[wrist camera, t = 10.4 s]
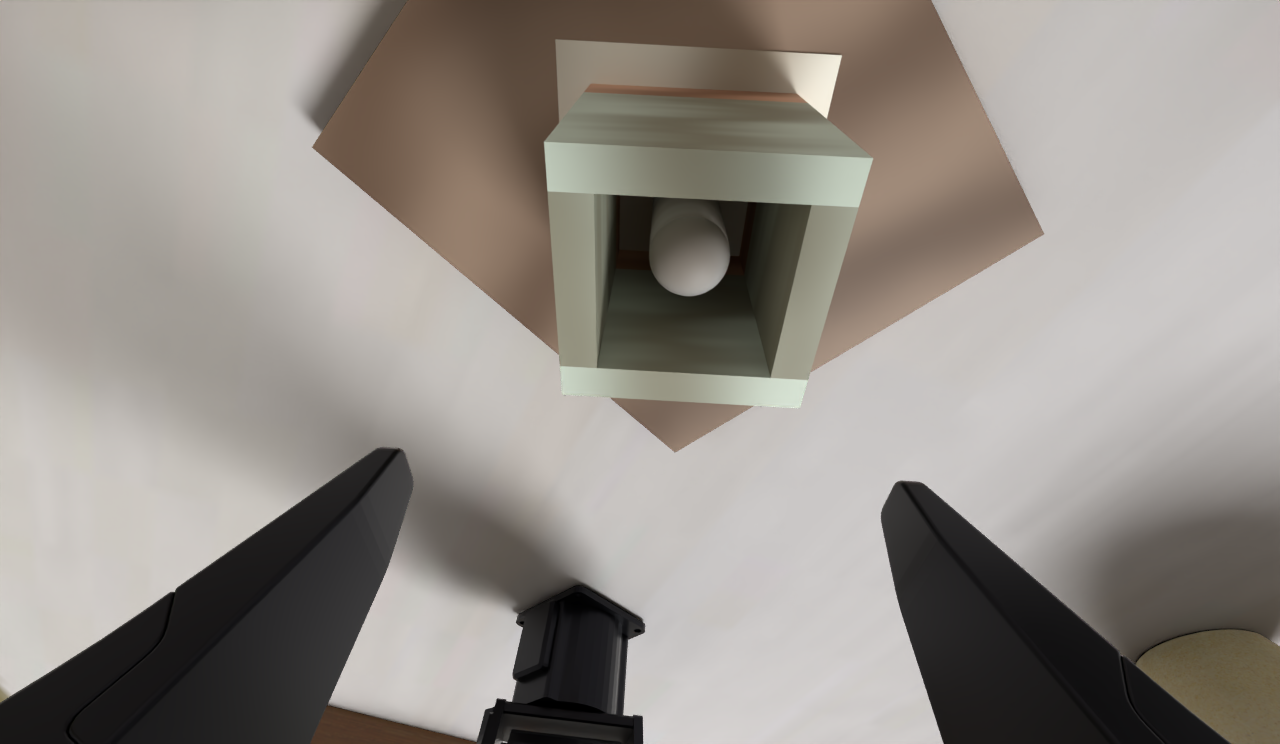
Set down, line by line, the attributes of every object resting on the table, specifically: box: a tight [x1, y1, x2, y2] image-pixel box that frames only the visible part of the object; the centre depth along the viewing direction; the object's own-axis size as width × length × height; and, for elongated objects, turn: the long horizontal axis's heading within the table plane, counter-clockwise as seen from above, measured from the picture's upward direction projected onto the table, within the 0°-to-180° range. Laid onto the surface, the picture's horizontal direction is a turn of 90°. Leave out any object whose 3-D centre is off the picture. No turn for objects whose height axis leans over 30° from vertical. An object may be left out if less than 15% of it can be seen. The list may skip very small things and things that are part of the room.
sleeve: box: [544, 84, 873, 408], centre depth 14 cm, size 6×6×7 cm
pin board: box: [312, 0, 1044, 452], centre depth 15 cm, size 18×16×7 cm
